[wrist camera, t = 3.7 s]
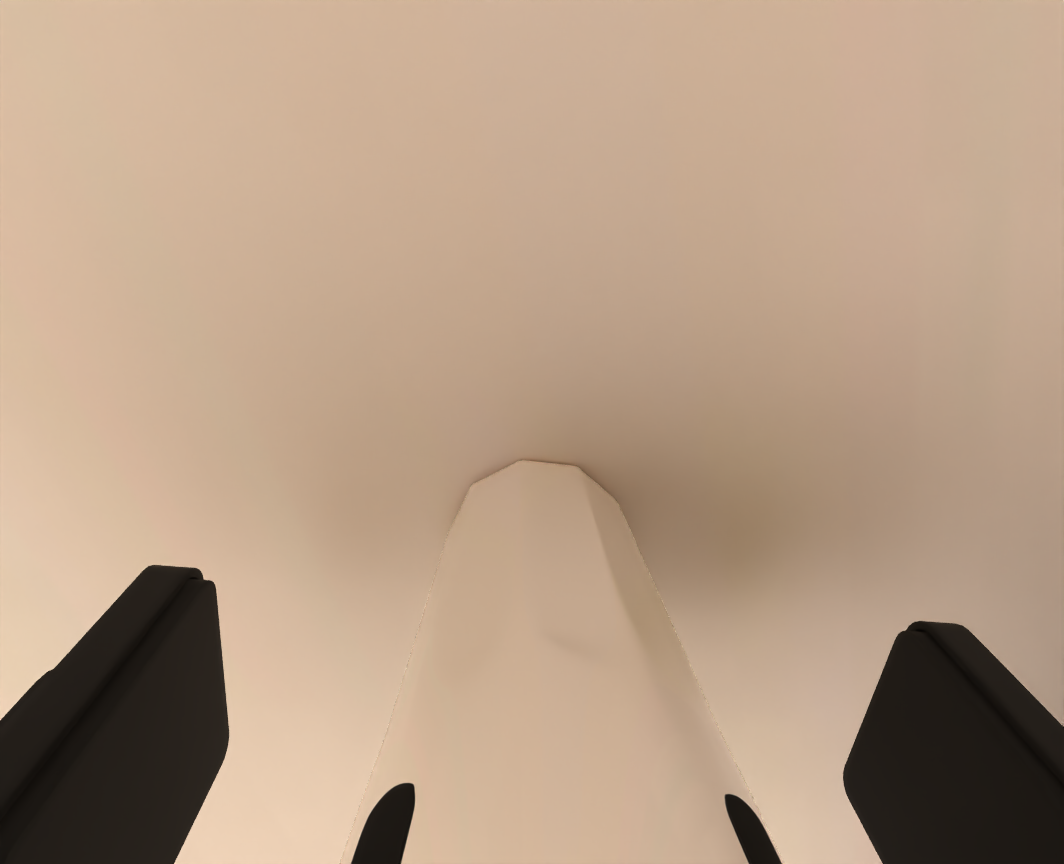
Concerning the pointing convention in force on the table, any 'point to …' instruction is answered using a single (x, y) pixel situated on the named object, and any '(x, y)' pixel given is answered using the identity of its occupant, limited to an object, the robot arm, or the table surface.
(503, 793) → the milkshake
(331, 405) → the table surface
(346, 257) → the table surface
